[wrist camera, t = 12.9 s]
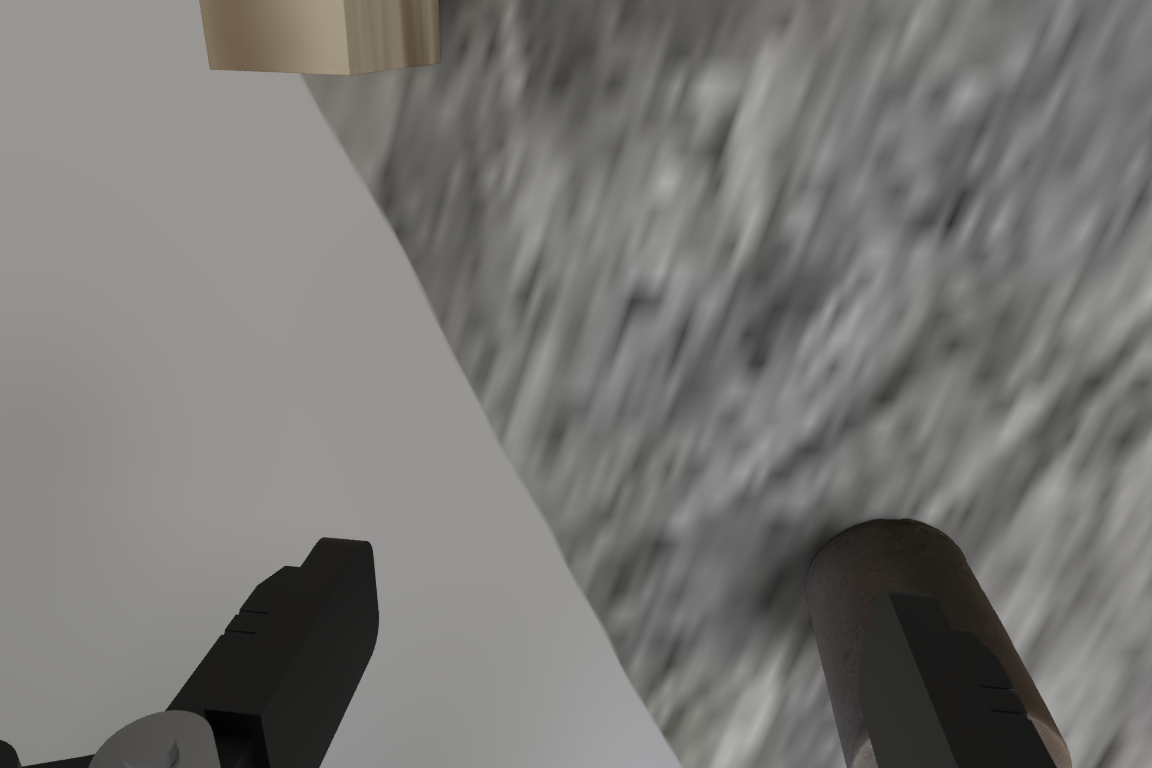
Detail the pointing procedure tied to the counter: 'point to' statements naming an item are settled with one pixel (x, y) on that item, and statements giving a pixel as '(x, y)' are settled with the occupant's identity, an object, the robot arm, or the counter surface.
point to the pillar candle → (908, 564)
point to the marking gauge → (321, 35)
